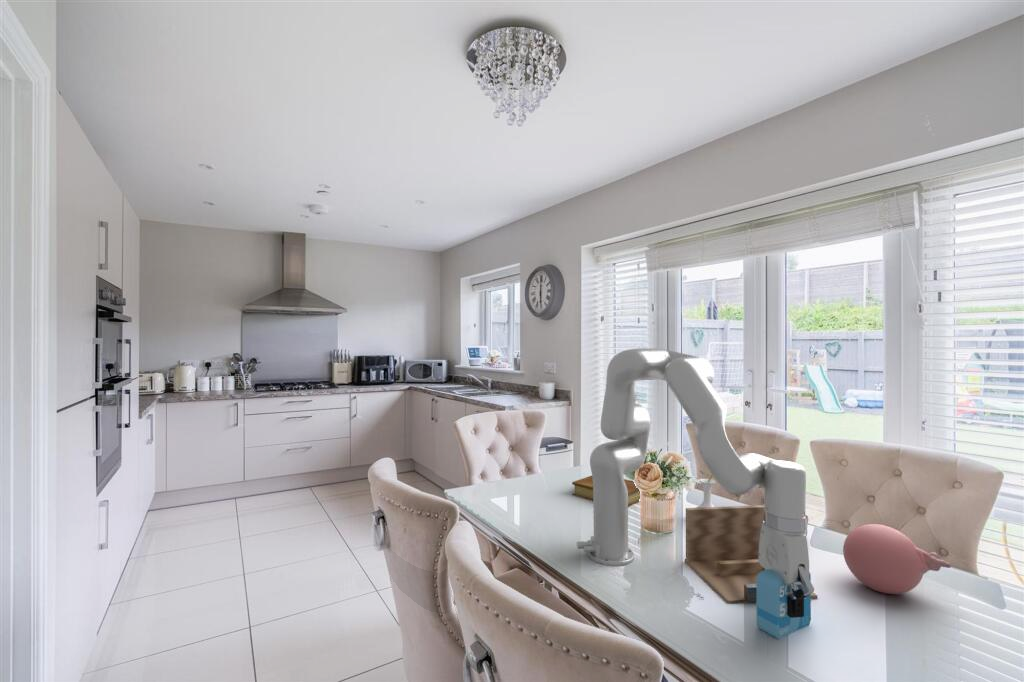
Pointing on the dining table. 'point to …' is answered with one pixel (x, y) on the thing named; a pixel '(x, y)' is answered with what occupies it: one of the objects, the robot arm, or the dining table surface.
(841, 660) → the dining table surface
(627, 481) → the diary
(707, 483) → the flower in vase
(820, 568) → the dining table surface
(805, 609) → the data package
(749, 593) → the grey rectangular bar
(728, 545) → the shelf
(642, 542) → the dining table surface
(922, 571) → the balloon
